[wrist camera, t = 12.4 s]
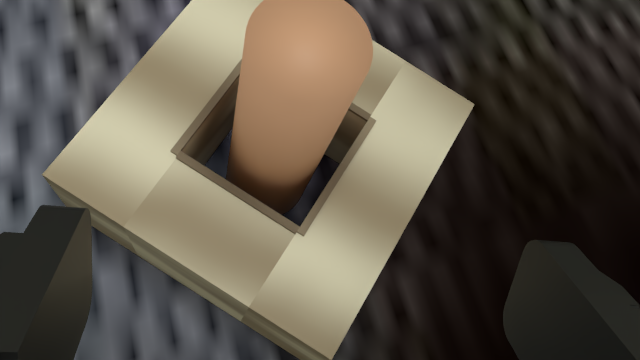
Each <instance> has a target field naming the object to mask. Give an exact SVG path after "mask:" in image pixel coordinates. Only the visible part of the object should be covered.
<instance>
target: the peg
mask: <svg viewBox="0 0 640 360" xmlns="http://www.w3.org/2000/svg"><path fill="white" fill-rule="evenodd" d="M372 59H373V43H372V39H371V35H370V32H369V29H368V27H367V25H366V23H365V22H364V20H363V19H362V17H361V16H360V15H359V14H358V12H357V11H356V10H355V9H354V8H353V7H352V6H351V5H349V4H348V3H347V2H345V1H344V0H264V1H262V2H261V3H260V4H259V5H258V6H257V7H256V8H255V10H254V11H253V13H252V14H251V16H250V18H249V21H248V24H247V27H246V32H245V40H244V47H243V55H242V62H241V70H240V77H239V85H238V92H237V100H236V107H235V115H234V122H233V130H232V137H231V145H230V152H229V160H228V167H227V175H226V180H227V181H229V182H230V183H232V184H234V185H235V186H237V187H238V188H240V189H241V190H243V191H245V192H246V193H248V194H249V195H251V196H252V197H254V198H256V199H257V200H259V201H260V202H262V203H263V204H265V205H267V206H268V207H270V208H271V209H273V210H274V211H276V212H278V213H279V214H281V215H282V214H284V213H286V212H288V211H289V210H290V209H292V208H293V207H294V206H295V205H296V204H297V202H298V201H299V199H300V197H301V196H302V194H303V192H304V190H305V188H306V186H307V185H308V183H309V181H310V179H311V177H312V175H313V173H314V172H315V170H316V168H317V166H318V164H319V162H320V161H321V159H322V157H323V155H324V153H325V151H326V149H327V148H328V146H329V144H330V142H331V140H332V138H333V136H334V135H335V133H336V131H337V129H338V127H339V125H340V124H341V122H342V120H343V118H344V116H345V114H346V112H347V111H348V109H349V107H350V105H351V103H352V101H353V100H354V98H355V96H356V94H357V92H358V90H359V88H360V87H361V85H362V83H363V81H364V79H365V77H366V75H367V74H368V72H369V69H370V67H371V63H372Z"/></svg>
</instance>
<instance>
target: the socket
mask: <svg viewBox="0 0 640 360" xmlns="http://www.w3.org/2000/svg"><path fill="white" fill-rule="evenodd" d="M262 1H264V0H192V1H191V2H190V3H189V4H188V5H187V7H186V8H185V9H184V10H183V11H182V12H181V14H180V15H179V16H178V17H177V18H176V19H175V21H174V22H173V23H172V24H171V25H170V26H169V28H168V29H167V30H166V31H165V32H164V33H163V35H162V36H161V37H160V38H159V39H158V40H157V41H156V43H155V44H154V45H153V46H152V47H151V48H150V50H149V51H148V52H147V53H146V54H145V55H144V57H143V58H142V59H141V60H140V61H139V62H138V64H137V65H136V66H135V67H134V68H133V69H132V71H131V72H130V73H129V74H128V75H127V76H126V78H125V79H124V80H123V81H122V82H121V83H120V85H119V86H118V87H117V88H116V89H115V90H114V92H113V93H112V94H111V95H110V96H109V97H108V99H107V100H106V101H105V102H104V103H103V104H102V106H101V107H100V108H99V109H98V110H97V111H96V113H95V114H94V115H93V116H92V117H91V118H90V120H89V121H88V122H87V123H86V124H85V125H84V126H83V128H82V129H81V130H80V131H79V132H78V133H77V135H76V136H75V137H74V138H73V139H72V140H71V142H70V143H69V144H68V145H67V146H66V147H65V149H64V150H63V151H62V152H61V153H60V154H59V156H58V157H57V158H56V159H55V160H54V161H53V163H52V164H51V165H50V166H49V167H48V168H47V170H46V171H45V172H44V173H43V174H42V175H43V177H44V178H45V179H46V180H47V182H48V183H49V184H50V186H51V187H52V188H53V190H54V191H55V192H56V194H57V195H58V196H59V198H60V199H61V200H62V201H63V203H64V204H65V205H66V207H78V208H88V209H89V211H90V215H91V226H93V227H94V228H96V229H97V230H99V231H100V232H102V233H104V234H105V235H107V236H108V237H110V238H111V239H113V240H115V241H116V242H118V243H119V244H121V245H122V246H124V247H125V248H127V249H129V250H130V251H132V252H133V253H135V254H136V255H138V256H139V257H141V258H143V259H144V260H146V261H147V262H149V263H150V264H152V265H153V266H155V267H157V268H158V269H160V270H161V271H163V272H164V273H166V274H167V275H169V276H171V277H172V278H174V279H175V280H177V281H178V282H180V283H182V284H183V285H185V286H186V287H188V288H189V289H191V290H192V291H194V292H196V293H197V294H199V295H200V296H202V297H203V298H205V299H206V300H208V301H210V302H211V303H213V304H214V305H216V306H217V307H219V308H220V309H222V310H224V311H225V312H227V313H228V314H230V315H231V316H233V317H235V318H236V319H238V320H239V321H241V322H242V323H244V324H245V325H247V326H249V327H250V328H252V329H253V330H255V331H256V332H258V333H259V334H261V335H263V336H264V337H266V338H267V339H269V340H270V341H272V342H273V343H275V344H277V345H278V346H280V347H281V348H283V349H284V350H286V351H287V352H289V353H291V354H292V355H294V356H295V357H297V358H298V359H300V360H332V358H333V356H334V355H335V353H336V351H337V349H338V347H339V346H340V344H341V342H342V340H343V338H344V337H345V335H346V333H347V331H348V330H349V328H350V326H351V324H352V322H353V321H354V319H355V317H356V315H357V313H358V312H359V310H360V308H361V306H362V305H363V303H364V301H365V299H366V297H367V296H368V294H369V292H370V290H371V288H372V287H373V285H374V283H375V281H376V280H377V278H378V276H379V274H380V272H381V271H382V269H383V267H384V265H385V263H386V262H387V260H388V258H389V256H390V255H391V253H392V251H393V249H394V247H395V246H396V244H397V242H398V240H399V238H400V237H401V235H402V233H403V231H404V230H405V228H406V226H407V224H408V222H409V221H410V219H411V217H412V215H413V213H414V212H415V210H416V208H417V206H418V205H419V203H420V201H421V199H422V197H423V196H424V194H425V192H426V190H427V188H428V187H429V185H430V183H431V181H432V180H433V178H434V176H435V174H436V172H437V171H438V169H439V167H440V165H441V163H442V162H443V160H444V158H445V156H446V155H447V153H448V151H449V149H450V147H451V146H452V144H453V142H454V140H455V138H456V137H457V135H458V133H459V131H460V130H461V128H462V126H463V124H464V122H465V121H466V119H467V117H468V115H469V113H470V112H471V110H472V108H473V106H474V105H475V104H473V103H472V102H470V101H468V100H467V99H465V98H464V97H462V96H460V95H459V94H457V93H456V92H454V91H452V90H451V89H449V88H448V87H446V86H444V85H443V84H441V83H440V82H438V81H436V80H435V79H433V78H432V77H430V76H429V75H427V74H425V73H424V72H422V71H421V70H419V69H417V68H416V67H414V66H413V65H411V64H409V63H408V62H406V61H405V60H403V59H401V58H400V57H398V56H397V55H395V54H394V53H392V52H390V51H389V50H387V49H386V48H384V47H382V46H381V45H379V44H378V43H376V42H374V41H373V40H372V43H373V59H372V63H371V67H370V69H369V72H368V74H367V75H366V77H365V79H364V81H363V83H362V85H361V87H360V88H359V90H358V92H357V94H356V96H355V98H354V100H353V101H352V103H351V105H350V107H349V109H348V111H347V112H346V114H345V116H344V118H343V120H342V122H341V124H340V125H339V127H338V129H337V131H336V133H335V135H334V136H333V138H332V140H331V142H330V144H329V146H328V148H327V149H326V151H325V153H324V154H325V155H326V156H328V157H330V158H331V159H333V160H334V161H336V162H338V163H339V164H340V165H339V166H338V168H337V170H336V171H335V173H334V174H333V176H332V177H331V179H330V181H329V182H328V184H327V185H326V187H325V188H324V190H323V192H322V193H321V195H320V196H319V198H318V199H317V201H316V203H315V204H314V206H313V207H312V209H311V210H310V212H309V213H308V215H307V217H306V218H305V220H304V221H303V223H302V224H301V226H298V225H296V224H295V223H293V222H292V221H290V220H289V219H287V218H285V217H284V216H282V215H281V214H279V213H278V212H276V211H274V210H273V209H271V208H270V207H268V206H267V205H265V204H263V203H262V202H260V201H259V200H257V199H256V198H254V197H252V196H251V195H249V194H248V193H246V192H245V191H243V190H241V189H240V188H238V187H237V186H235V185H234V184H232V183H230V182H229V181H227V180H226V179H224V178H223V177H221V176H219V175H218V174H216V173H215V172H213V171H212V170H210V169H208V168H207V167H205V166H204V165H205V164H206V163H207V161H208V160H209V158H210V157H211V156H212V154H213V153H214V152H215V150H216V149H217V148H218V146H219V145H220V144H221V142H222V141H223V140H224V138H225V137H226V136H227V134H228V133H229V131H230V130H231V129H232V127H233V122H234V115H235V107H236V100H237V92H238V85H239V77H240V70H241V62H242V55H243V47H244V40H245V32H246V27H247V24H248V21H249V18H250V16H251V14H252V13H253V11H254V10H255V8H256V7H257V6H258V5H259V4H260V3H261V2H262Z"/></svg>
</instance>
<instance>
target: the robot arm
mask: <svg viewBox="0 0 640 360" xmlns="http://www.w3.org/2000/svg"><path fill="white" fill-rule="evenodd" d="M91 297H92V240H91V215H90V211H89V209H88V208H78V207H64V206H50V205H41V206H40V207H39V209H38V210H37V212H36V213H35V215H34V217H33V218H32V220H31V222H30V223H29V225H28V226H27V228H26V230H25V231H24V233H11V232H3V233H2V234H0V360H73V359H74V356H75V353H76V351H77V348H78V345H79V342H80V339H81V336H82V333H83V331H84V328H85V325H86V322H87V319H88V315H89V310H90V304H91ZM503 324H504V330H505V334H506V337H507V339H508V341H509V342H510V344H511V346H512V348H513V349H514V351H515V353H516V355H517V356H518V358H519V360H640V308H639V304H638V303H637V302H636V301H635V300H634V299H633V298H632V297H631V295H630V294H629V293H628V292H627V291H626V290H625V289H624V288H623V287H622V286H621V285H619V284H618V283H616V282H615V281H613V280H612V279H610V278H609V277H607V276H606V275H604V274H603V273H601V272H600V271H599V270H598V269H597V268H596V267H595V266H594V265H593V264H592V263H591V262H590V261H589V260H588V258H587V257H586V256H585V255H584V254H583V253H582V252H581V251H580V250H579V248H578V247H577V246H576V245H574V244H573V243H570V242H557V241H542V240H532V241H530V242H529V243H528V244H527V245H526V246H525V248H524V250H523V253H522V256H521V259H520V262H519V265H518V268H517V271H516V274H515V277H514V279H513V282H512V285H511V288H510V291H509V294H508V297H507V300H506V303H505V307H504V313H503Z"/></svg>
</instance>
